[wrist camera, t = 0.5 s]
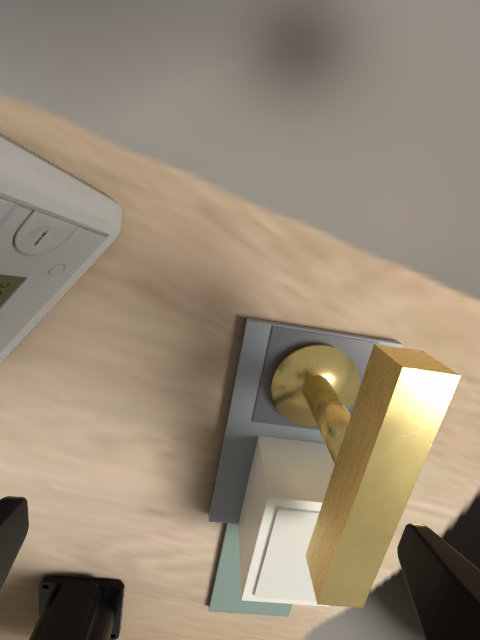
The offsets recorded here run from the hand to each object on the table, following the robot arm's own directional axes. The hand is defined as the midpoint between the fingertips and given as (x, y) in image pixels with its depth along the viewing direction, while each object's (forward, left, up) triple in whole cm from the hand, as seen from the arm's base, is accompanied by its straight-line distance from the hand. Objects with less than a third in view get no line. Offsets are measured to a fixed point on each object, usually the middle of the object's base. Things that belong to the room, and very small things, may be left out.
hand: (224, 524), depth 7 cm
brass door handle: (-2, -6, -12) cm, 14 cm away
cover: (-11, -6, -12) cm, 17 cm away
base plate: (-7, -6, -13) cm, 16 cm away
